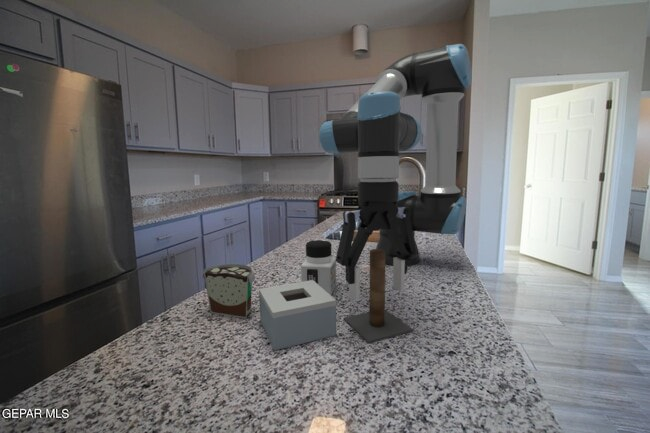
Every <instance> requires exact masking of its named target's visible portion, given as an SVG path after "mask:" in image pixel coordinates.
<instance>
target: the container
mask: <svg viewBox="0 0 650 433" xmlns="http://www.w3.org/2000/svg"><path fill="white" fill-rule="evenodd" d="M305 258H306V259H305V260H304V262H303V263H302V264H301V265H300V280H301V281H300V282H304V281H310V280H314V281H315V282H316V283H317V284H318V285H319V286H320V287H321V288H323V289H324V290H325V291H326V292H327V293H328V294H329V295H331V296H332V294H333V292H334V290H335V288H336V285H337V262H336V257H332V243H331V242H330V241H328V240H326V239H312V240H310V241H308V242H306V243H305Z"/></svg>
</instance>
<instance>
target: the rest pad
mask: <svg viewBox="0 0 650 433" xmlns="http://www.w3.org/2000/svg"><path fill="white" fill-rule="evenodd" d="M343 320H344V321H345V323H346V324H347V325H349V326H350V328H352V329H353V330H354V332H356V333H357V334H358V336H360V337H361V338H362V339H363V340H364V341H365V342H366V343H367V344H371V343H375V342H379V341H382V340H386V339H390V338H394V337H397V336H401V335H405V334H408V333H412V332H414V329H413V328H412V327H410V326H409V325H407V323H405V322H403V321H402V320H401V319H399V318H398V317H396V316H395V315H393V314H392V313H391V312H389V311H388V310H387V309H385V325H384V326H383V327H373V326H371V325H370V324H369V311H367V312H363V313H362V312H361V313H359V314H354V315H350V316H345V317H343Z"/></svg>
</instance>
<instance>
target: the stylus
mask: <svg viewBox="0 0 650 433" xmlns="http://www.w3.org/2000/svg"><path fill="white" fill-rule="evenodd" d="M368 305H369V308H368V309H369V310H368V312H369V324H370V325H371V326H373V327H383V326H384V325H385V310H386V264H385V250H382V249H376V248H374V249H370V250H369V304H368Z"/></svg>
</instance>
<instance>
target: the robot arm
mask: <svg viewBox="0 0 650 433" xmlns="http://www.w3.org/2000/svg"><path fill="white" fill-rule="evenodd" d="M469 55H470V54H469V51H468V48H467V47H466V46H465V45H464V44H462V43H457V44H450V45H449V44H447V45H444V46H440V47H437V48H432V49H427V50H422V51H418V52H413V53H409V54H407V55H405V56H403V57H401V58H399V59H397V60H396V61H394V62H393V63H392V64H390V65H389V66H387V67H386V68H385V69H384V70H383V71H382V72H381V73H379V74H378V76H377V77H376V81H375V83H374V84H373V86H371V87H370V89H369V88H368V90H367V91H366V92H365V93H364V94H362V95H361V96H360V97H359V99H358V100H357V101H356V102H355V103H354V104H353V105H352V106H351V107H350V108H349V109H348V110H347V111H346V112H345V113H344V114H343V115H342V116H341V117H340V118H339V119H332V120H328V121H325V122H323V123H322V124H321V126H320V129H319V133H318V138H319V140H318V141H319V143H320V145H321V148H322V150H324V152H325V153H327V154H339V155H341V154H347V153H348V154H349V153H350V154H351V153H357V178H358V179H359V180H360V181H359V182H358V183H357V200H358V207H357V210H351V211H349V210H345V211H343V213H342V218H343V225H342V230H341V233H340V237H339V238H340V240H339V243H338V247H337V252H336V257H335V258H336V264H339V265H340V266H342V267H345V281H346V283H348V284H349V285H348V286H349V290H348V291H349V298H351V299H352V300H353V301H355V302H360V301H361V298H360V297H361V296H360V295H361V294H360V293H361V292H360V290H361V288H360V287H361V286H360V285H361V279H360V277H361V276H360V274H361V270H360V267H359V266H358V265H357V264H358V262H359V260H360V257H361V255H362V254H363V251H364V249H365V246H366V244H367V242H368V240H369V238H370V236H371V235H373V232H374V231H378V230H379V236H378V241H377V243H376V247H375V249H382V250H385V265H389V266H393V267H392V268H393V269H392V270H393V271H392V274H393V275H392V289H394V290H396V291H398V292H400V293H404V292H405V275H406V274H408V273H407V272H408V266H411V265H416V264H418V263H419V262H420V251H419V249H418V245H417V242H416V238H415V232H418V233H419V232H421V233H431V234H439V235H456V234H457V233H458V232H460V230H461V228H462V225H463V222H464V219H465V214H466V209H467V198H466V197H464V196H462V195H461V192H462V191H461V189H460V188H459V187H458V186H457V184H456V177H457V153H458V150H457V148H458V146H457V145H458V124H459V123H458V122H459V118H458V117H459V102H460V101H461V100H462V99H463V98H464V97H465V91H466V90H465V89H469V88H470V87H471V85H472V79H473V78H472V67H471V60H470V56H469ZM417 95H418V96H419V95H420V96H421V100H422V101H423V102H424V103H425V105H426V143H425V144H426V145H425V146H426V148H425V149H426V154H425V156H426V157H425V158H426V159H425V186H423V187H422V189H421V190H420V195H417V193H416V192H417V191H415V190H411V191H410V190H407V191H401V192H399V182H398V181H396V179H398V178H399V177H400V152H406V151H410V150H412V149H413V148H415V147H416V146H417V145H418V144H419V142H420V140H421V138H422V131H423V130H422V126H421V124H420V122H419V121H418V120H417V119H416V118H415V117H414V116H412V115H411V114H408V113H405V112H401V110H402V106H401V100H402V99H403V98H405V97H410V96H417ZM358 219H359V220H360V222H359V225H358V227H357V233H356V235H355V231H356V230H355V229H356V223H358ZM354 235H355V237H354Z"/></svg>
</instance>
